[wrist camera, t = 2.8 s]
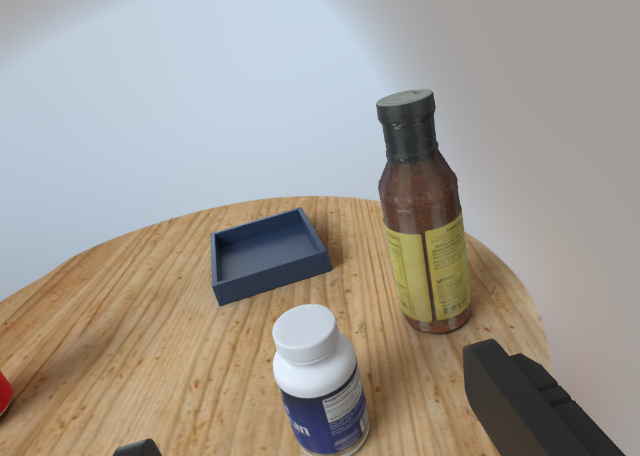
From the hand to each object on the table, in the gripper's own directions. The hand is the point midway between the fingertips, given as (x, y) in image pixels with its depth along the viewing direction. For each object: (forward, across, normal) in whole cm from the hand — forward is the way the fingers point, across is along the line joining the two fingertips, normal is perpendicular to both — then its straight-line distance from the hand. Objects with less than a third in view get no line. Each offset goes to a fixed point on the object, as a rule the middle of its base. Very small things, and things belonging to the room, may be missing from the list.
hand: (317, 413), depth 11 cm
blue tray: (+40, +3, +17) cm, 44 cm away
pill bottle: (+13, 0, +17) cm, 22 cm away
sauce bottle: (+22, -11, +17) cm, 30 cm away
